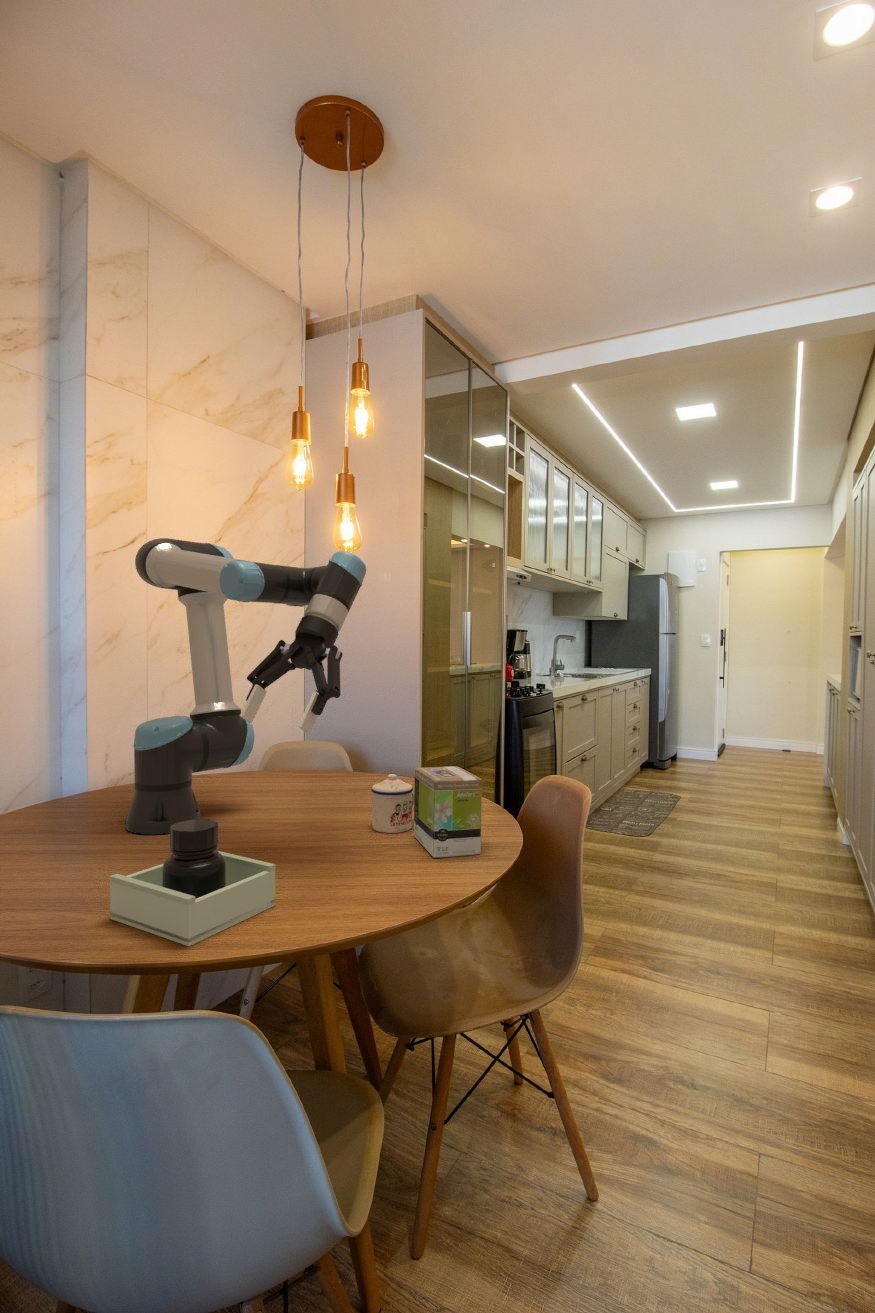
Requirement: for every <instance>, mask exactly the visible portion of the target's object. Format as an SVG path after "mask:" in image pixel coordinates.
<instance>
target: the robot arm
mask: <svg viewBox="0 0 875 1313" xmlns="http://www.w3.org/2000/svg"><path fill="white" fill-rule="evenodd" d="M134 566H135V570H136V572H137V574H138V576H139V577H140V578H141V579H142V581H144V582H145V583H146V584H148V585H150V586H152V587H155V588H160V589H165V590H173V591H174V590H175V591H177V600H178V601H179V603H181V604H182V605H183V606H185V610H186V621H187V622H186V623H187V631H188V633H187V634H188V644H189V652H190V653H189V654H190V662H191V672H192V674H191V675H192V684H193V693H194V705H195V707H194V708H193V709H192V710H191V712H190V713H189V716H188V715H187V716H186V715H174V716H163V717H159V718H153V719H150V720H147V721H145V722H142V723H141V724H138V726H137V727H136V729H135V731H134V741H133V745H132V746H133V750H134V752H133V753H134V755H133V757H134V759H133V760H134V766H133V767H134V794H133V797H132V799H131V802H130V805H129V809H128V812H127V815H126V817H125V830H126V829H127V830H128V831H127V830H126V831H127V832H129V831H130V832H129V833H132V832H134V833H133V834H136V833H141V834H140V835H162V834H163V835H165V834H170V827H171V825H173V824H175V823H178V822H181V821H187V820H195V819H201V810H200V808H199V806H198V803H197V802H198V801H197V798H196V796H195V793H194V790H193V774H194V773H195V774H196V773H201V772H206V771H214V770H219V769H229V768H231V767H236V766H239V765H241V764H243V763H244V762H246V761H247V760H248V758H249V757H250V755H251V753H252V751H253V748H254V744H255V730H254V727H253V726H254V725H253V724H252V723H253V722H254V719H255V717H256V715H257V712H258V711H259V709H260V707H261V704H262V702H263V700H264V699H265V696H266V694H267V691H266V688H268V687H269V686H271V685H272V684H273V683H275V682H276V681H277V680H279V679H280V678H282V677H283V676H285V675H286V674H287V673H288V672H290V671H294V670H296V669H306V670H308V671H311V673H312V676H313V679H314V680H313V681H314V682H315V686H316V690H315V691H316V692H317V693H316V692H312V695H311V697H310V699H309V701H308V702H307V705H306V708H305V710H304V712H303V715H302V717H301V719H300V720H299V723H298V725H297V728H299V729H300V730H301V731H303V732H304V733H305V734H307V735H308V734H311V732H312V730H313V727H314V724H315V723H316V720H317V718H318V716H321V715H322V714H323V711H324V709H325V706H326V704H327V702H328V701H330V699H332V698H334V699H338V698H340V697H341V660H342V658H343V652H342V650H340V649H339V647H337V646H336V645H335V643H336V642H337V638H338V637H339V632H340V631H342V630H341V629H342V627H343V625H344V622H345V621H346V618H347V617H348V614H349V612H350V610H351V608H352V606H353V603H354V601H355V599H356V597H357V595H358V593H359V591H360V589H361V587H362V586H363V583H364V580H365V576H366V573H367V566H366V564H365V562H364V561H363V560H362V559H361V558H360V556H357V555H356V554H354V553H352V552H349V551H345V550H339V551H336V552H334V553H333V554H332V556H331V558H330V559H329V560H328V563H327V565H321V566H320V565H319V566H316V567H315V566H313V567H296V566H290V565H289V566H288V565H280V564H279V565H278V564H270V563H263V562H258V561H257V562H255V561H250V560H243V559H237V558H234V557H233V555H232V554H231V552H230V551H229V550H228V549H226V548H225V547H223V546H220V545H217V544H213V543H210V542H205V543H204V542H197V541H190V540H182V539H175V538H170V537H169V538H165V537H164V538H163V537H161V538H160V537H159V538H155V539H152V540H149V541H147V542H146V543H144V544H143V545H141V546H140V548H139V549H138V551H137V552H136V554H135V558H134ZM228 600H231V601H237V602H242V603H268V604H278V605H279V604H280V605H286V606H287V607H288V606H289V607H300V608H301V607H305V606H307V607H306V609H305V610H304V613H303V616H302V617H301V619H300V621H299V623H298V625H297V627H296V629H295V631H294V634H295V636H294V637H295V638H294V640H293V641H292V643H287V642H286V641H285V640H284V639H280V640H279V641H278V642H277V644H276V645H275V647H274V649H273V650H272V651H271V652H270V653H268V655H267V656H266V657H265V658H264V659H263V660H262V661H261V662H260V663H259V664H258V665H256V667H255V668H254V669H253V670H252V671H251V672H250V673H249V674H248V675H247V676H246V677H247V678H246V680H247V681H248V682H250V683H251V684H252V685H251V688H250V689H249V691H248V694H247V696H246V699H245V701H246V702H245V704H244V707H243V708H241V707H240V706H239V705H237V704H236V703H235V702H234V695H233V684H232V675H231V674H232V672H231V666H230V657H229V656H230V653H229V646H228V635H227V634H228V633H227V625H226V617H225V616H226V615H225V603H226V602H227V601H228ZM324 660H326V661H327V666H326V668H327V671H326V672H327V674H325V668H324V665H323V661H324ZM326 675H327V678H326ZM164 833H165V834H164Z"/></svg>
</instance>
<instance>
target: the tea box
mask: <svg viewBox="0 0 875 1313" xmlns="http://www.w3.org/2000/svg"><path fill="white" fill-rule="evenodd" d="M482 784H483V780H482V778H480V777H479V776H477V775H475V774H473V773H471V772H470V771H467V770H466V769H463V768H462V767H459V766H457V765H456V766H434V767H431V766H430V767H429V766H428V767H427V766H426V767H415V768H414V806H413V810H414V812H413V836H414V838H415V839H416V840H417V841H418V842H419V843H420V844H421V846H423V848H425V850H426V851H427V852H428V853H429V854H430V856H432V858H452V857H462V856H474V855H480V854H481V848H482V847H481V846H482V834H481V833H482V808H483V806H482V795H483V785H482Z"/></svg>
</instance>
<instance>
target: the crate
mask: <svg viewBox="0 0 875 1313" xmlns="http://www.w3.org/2000/svg"><path fill="white" fill-rule="evenodd" d="M217 851H218V852H219V853H220V854H222V855H223V856H224V858H225V872H226V887H224V888H221V889H219V890H216V891H214V892H211V893H209V894H207V895H204V896H202V897H199V898H197V899H195V896H192V895H188V894H185V893H182V892H178V891H175V890H171V889H168V888H165V887H162V874H163V864H164V863H161V864H158V865H155V866H152V867H149V868H146V869H143V870H140V871H137V872H133V873H131V874H127V875H123V874H120V873H114V874H112V875H109V876H108V877H109V878H108V880H109V918H110V919H109V920H112V921H115V922H119V923H121V924H124V925H127V926H129V927H133V928H135V929H139V930H141V931H143V932H147V933H150V934H151V935H155V936H158V937H162V938H164V939H167V940H169V941H172V942H175V943H178V944H181V945H183V946H186V947H191V946H193V945H196V944H197V943H199V942H201V941H203V940H205V939H208V938H210V937H213V936H215V935H216V934H218V933H220V932H222V931H224V930H226V929H228V928H230V927H233V926H235V925H237V924H239V923H241V922H243V921H245V920H247V919H250V918H252V917H254V916H255V915H258V914H260V913H263V912H264V911H266V910H269V909H271V908H272V907H275V906H276V867H277V865H276V864H275V863H272V862H271V863H270V862H267V861H263V860H259V859H254V858H250V857H246V856H242V855H237V854H232V853H229V852H225V851H219V850H217Z"/></svg>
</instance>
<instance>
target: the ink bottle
mask: <svg viewBox="0 0 875 1313" xmlns="http://www.w3.org/2000/svg"><path fill="white" fill-rule="evenodd" d="M218 847H219V822H218V821H216V820H214V819H213V820H212V819H208V818H207V819H205V818H203V819H202V818H200V819H195V820H187V821H181V822H178V823H175V824H173V825H171V827H170V833H169V848H170V849H169V850H170V852H171V854H170V856H168V858H167V859H166V860H165V861H164V862H163V863H162V864H163V874H162V887H165V888H168V889H171V890H175V891H178V892H182V893H185V894H188V895H192V896H195V899H197V898H199V897H202V896H204V895H207V894H209V893H211V892H214V891H216V890H219V889H221V888H224V887H226V872H225V858H224V856H223V855H222V854H220V853H219V852H218V851H219V850H217V849H218Z"/></svg>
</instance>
